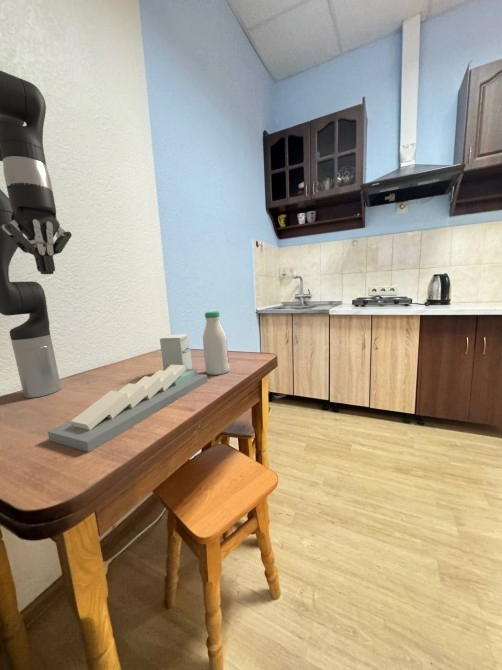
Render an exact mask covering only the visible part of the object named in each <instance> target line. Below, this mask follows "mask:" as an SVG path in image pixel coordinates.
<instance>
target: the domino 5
mask: <svg viewBox="0 0 502 670" xmlns="http://www.w3.org/2000/svg"><path fill="white" fill-rule="evenodd" d="M185 370H186V367H185V365H172V364H171V365H170V366H169V367H168V368H167V369H166V370H165V371H173V373H174V376H173V377H172V378H171V379H170V380H169V381H168V382H167V383H166V384H165V385H164V386H163V387H162V388H161V389H160V390H159V391H165V390H166V389H167V388H168V387H169V386H170V385H171V384H172V383H173V382H174V381H175V380H176V379H177V378H178V377H179V376H180V375H181V374H182V373H183V372H184V371H185Z"/></svg>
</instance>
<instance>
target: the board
mask: <svg viewBox="0 0 502 670" xmlns="http://www.w3.org/2000/svg"><path fill="white" fill-rule="evenodd" d="M208 382H209V381H208V374H201V373H200V374H199V373H197V375H195V376H193V377H191V378H189V379H187V380H185V381H183V382H182V383H180V384H178V385H176V386H175V385H170V386H169V387H168V388H167V389H166V390H165V391H158V392H157V393H156V394H155V395H154V396H152V397H151V398H150V399H142V400H141V401H140V402H139V403H138V404H137V405H136V406H135V407H133V408H128V407H125V408H124V409H123V410H122V411H121V412H120V413H119V414H117V415H116V416H115V417H114V418H113V419H110V418H104V419H103V420H102V421H101V422H99V423H98V424H97V425H96V426H95V427H94V428H92V429H91V430H87V429H83V428H78V427H74V426H73V424H72V422H71V421H72V420H73V419H72V420H69V421H67V422H65V423H63V424H61V425H59V426H56V427H54V428H52V429H49V430H48V431H47V435H48V439H49V441H50V442H52V443H56V444H59V445H63V446H66V447H70V448H72V449H77V450H80V451H84V452H87V453H90V452H92V451H94V450H95V449H97V448H99V447H101V446H102V445H103V444H105V443H107V442H109V441H110V440H112V439H114V438H115V437H117V436H119V435H120V434H122V433H123V432H125V431H127V430H129V429H130V428H132V427H134V426H135V425H137V424H139V423H140V422H142V421H144V420H145V419H147V418H149V417H150V416H152V415H154V414H155V413H157V412H159V411H161V410H162V409H164V408H166V407H167V406H169V405H170V404H172V403H175V401H177V400H179V399H180V398H182V397H184V396H185V395H187V394H188V393H190V392H192V391H194V390H195V389H197V388H199V387H200V386H202V385H204V384H205V383H208Z"/></svg>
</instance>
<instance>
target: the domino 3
mask: <svg viewBox="0 0 502 670" xmlns="http://www.w3.org/2000/svg"><path fill="white" fill-rule="evenodd" d="M160 383H161V381H160V378H158V377H151V376H146V375H145V376H143V377H141V379H139V380H138V381H137V382H136V383H135V384H139V385H144V387H145V391H144V392H143V393H141V394H140V395H139V396H138V397H137V398H136V399H135V400H133V401H132V402H131V403H130V404H129V405H128V406H127V407H128V408H133V407H135V406H136V405H137V404H138V403H139V402H140V401H141V400H142V399H143V398H144V397H145V396H147V395H148V394H149V393H150V392H151V391H152V390H153V389H154V388H155V387H156V386H157V385H159V384H160Z"/></svg>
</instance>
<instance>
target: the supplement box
mask: <svg viewBox="0 0 502 670" xmlns="http://www.w3.org/2000/svg"><path fill="white" fill-rule="evenodd" d="M159 344H160V352H161V360H162V367H163V371H165V370H166V369H167V368H168V367H169V366H170V365H171V364H172V365H185V367H186V369H193V363H192V355H191V346H190V335H189V333H184V334H183V333H181V334H180V333H179V334H177V333H176V334H169V335H167V336H164V337H161V338H159Z"/></svg>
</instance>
